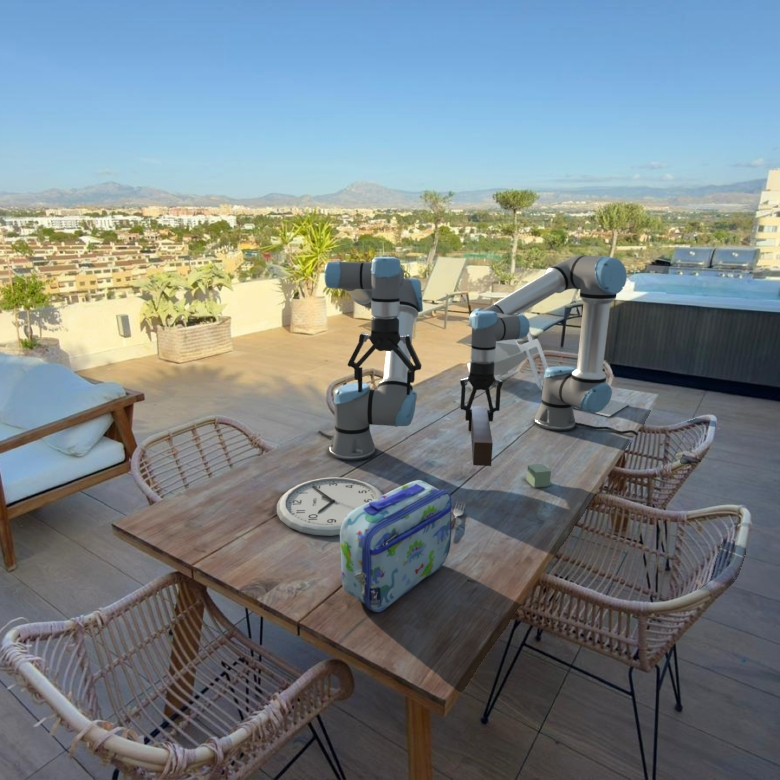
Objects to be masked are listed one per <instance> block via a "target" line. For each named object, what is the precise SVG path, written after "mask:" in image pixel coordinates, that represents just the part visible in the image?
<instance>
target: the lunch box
mask: <svg viewBox="0 0 780 780" xmlns="http://www.w3.org/2000/svg"><path fill="white" fill-rule="evenodd" d="M383 494H384V495H382V496H380V497H378V498H376V499H374V500H372V501H370V502H368V503H366V504H364V505H362V506H360V507H358V508H356V509H354V510H353V511H351V512H350V513H349V514H348V515H347V516H346V518H345V519H344V521H343V523H342V526H341V530H340V535H339V551H340V574H341V576H340V577H341V585H342V588H343V589H342V590H343V591H344V593H346V594H348V595H350V596H352V597H353V598H355V599H357V600H358V601H359V602H361V603H362V604H364V605H365V606H366V608H367V609H369V610H370V611H371V612H374V613H381V612H384V611H385V610H386V609H387V608H389V607H390V606H391V605H392V604H393V603H395V602H396V601H397V600H399V599H400V598H401V597H402V596H404V595H405V594H407V593H408V592H410V591H411V590H412V589H413V588H415V587H416V586H417V585H418V584H419V583H420V582H421V581H423V580H425V579H426V578H427V577H429V576H430V575H432V574H434V573H435V572H436V571H438V570H439V569H440V568H441V567H442V566H443V565H444V563H445V562H446V560H447V558H448V556H449V553H450V550H451V549H450V548H451V545H452V543H451V542H452V530H451V522H452V497H451V494H450V492H449V491H448V490H446V489H438V488H437V487H435V486H434V485H431V484H429V483H427V482H426V481H424V480H421V479H416V480H413V481H410V482H408V483H405V484H403V485H401V486H399V487H397V488H394V489H393V490H390V491H388V492H387V493H383Z"/></svg>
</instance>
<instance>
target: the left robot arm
mask: <svg viewBox="0 0 780 780" xmlns="http://www.w3.org/2000/svg"><path fill="white" fill-rule="evenodd" d="M323 276H324V277H323V278H324V283H325V287H327V288H328V289H335V290H337V289H338V290H339V289H340V290H342V291H344V292H346V293H347V294H348V295H350V298H351V299H352V300H353V302H355V303H356V304H358V305H360V306H361V307H365V308H367V309H370V312H371V313H370V315H371V316H372V317H371V319H370V334H368V333H365V332H361V333H360V334H359V337H358V343H357V345H356V347H355V348H354V350H353V353H352V354H351V356H350V358H349V360H348V362H347V366H348V367H349V368H353V370H354V371H353V374H354V376H353V377H354V380H355V381H357V382H351V383H347V384H343V385H341V386H339V387H337V388H336V389H335V392H334V396H333V397H334V399H333V408H334V409H333V410H334V415H333V416H334V432H333V434H332V435H331V434H327V433H324V432H322V431H321V430H318V433H319V434H320V435H322V436H324V437H327V438H330V444H329V454H330V455H331V457H333V458H335V459H338V460H341V461H351V462H353V461H362V460H365V459H368V458H370V457H372V456H374V454H375V452H376V447H375V443H374V439H373V436H372V433H371V429H370V425H371V426H386V427H387V426H388V427H389V426H390V427H396V428H397V427H408V426H410V425H411V424H412V421H413V419H414V415H415V411H416V406H417V405H416V403H417V399H418V398H417V396H418V393H417V391H415V390H414V387H413V386H414V385H412V384H413V383H414V382H415V380H416V379H415V378H416V371H420V370H421V369H422V363H421V361H420V358H419V357H418V354H417V353H416V350H415V348H414V346H413V331H414V321H415V320H416V319H417V318H418V317H419V313H421V312H423V310H424V308H423V307H424V305H423V304H424V303H423V291H422V282H421V280H420V279H418V278H415V277H414V278H413V277H408V276H407V277H405V271H404V268H403V267H402V266H401V260H400V258H398V257H396V256H395V257H394V256H377V257H373V259H372V260H371V261H339V260H337V261H328V262H327V263H326V264H325V266H324V275H323ZM368 340H369V341H370V343H371V344H372V345H371V346H370V347H369V349H368V350H367V351H366V352H364V354H363V355H362V356H361V357H360V358H359V360H358V361H357V362H355V361H356V359H357V357H358V355H359V353H360V352H361V349H362V348H363V346H364V344H365V343H366V342H367V341H368ZM376 350H377V351H378V352H385V354H384V355H385V357H384V368H383V376H382V377H383V378H382V380H380V381H379V382H378V384H377V389H373V388H371V386H370V384H369V383H366V382H363V367H361V366H362V365H363V364H364V363H365V361H366V360H367V359H368V358H369V357H370V356H371V355H372V353H374V351H376ZM411 360H412V361H413V363H412V361H411Z"/></svg>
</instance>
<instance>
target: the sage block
mask: <svg viewBox="0 0 780 780" xmlns="http://www.w3.org/2000/svg"><path fill="white" fill-rule="evenodd" d="M551 474H552V470H551V469H550V468H548V467H547V466H546V465H545V464H544V463H538V464H528V465H527V471H526V481H527V482H528V483H529V485H531V487H532V488H535V489H536V488H543V487H545V488H546V487H550V484H551V476H552V475H551Z"/></svg>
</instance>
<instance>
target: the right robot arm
mask: <svg viewBox="0 0 780 780" xmlns="http://www.w3.org/2000/svg"><path fill="white" fill-rule="evenodd" d="M627 278H628V276H627V269H626V266H625V265H624V263H623V262H622V261H621V260H620V259H619V258H617V257H611V256H606V255H605V256H603V255H587V254H580V255H575V256H571V257H569V258H567V259H564V260H562V261H559V262H558V263H556V264H554V265H553V266H550V267H548V269H546V270H545V272H544V274H543V275H541V276H539V277H538V278H536V279H534V280H532V281H531V282H529V283H527V284H526V285H524V286H522V287H521V288H519V289H517V290H515V291H513V292H512V293H510V294H509V295H506V296H505V297H503V298H502V299H500V300H498V301H497V302H495V303H493V304H491V305H489V306H487V307H486V308H483V307H481V308H480V307H478V308H475V309H473V310H472V311H471V313H470V315H469V318H468V321H469V325H470V327H471V342H470V343H471V347H470V362H469V363H470V373H469V374H468V376H467V377H466V378H460V379H459V383H460V386H461V392H460V405H459V406H460V410H462V411H465V417H464V418H465V421H467V422H468V425H467V427H468V432H471V419H472V410H471V406H473V402H474V400H475V396H476V394H477V391H481V390H482V391H485V394H486V400H487V405H488V409H487V411H488V418H489V423H492V422H493V421H494V413H496V412H500V410H501V409H500V408H501V406H500V405H501V393H502V392H501V391H502V387H503V385H504V382H503V380H502V379H498V378H496V377H495V375H494V365H495V363H494V362H493V361H494V360H495V349H496V341H497V342H499V341H503V340H513V339H516V340H519V339H523V338H527V335H528V333H529V330H531V329H530V328H531V325H530V321H529V319H528V318H527V316H524V315H525V314H524V315H520V314H521V313H522V312H523V313H525V312H526V311H527V310H529V309H531V308H532V307H534V306H536V305H538V304H539V303H541V302H543V301H545V300H546V299H547V298H550V296H553V295H554V294H561V293H564V292H565V291H567V290H568V291H569V290H579V298H580V299H581V300H582V302H583V306H582V313H581V314H582V315H581V326H580V333H579V345H578V352H577V353H578V354H577V363H576V367H574V366H566V365H565V366H564V365H559V366H558V365H557V366H550V367H549V366H548V367H549V368H547V369H546V370H545V369H544V375H543V381H542V392H541V402H540V405H539V407H538V410H537V411H536V413H535V415H534V424H535V425H536V426H537V427H539V428H542V429H544V430H549V431H556V432H567V431H572V430H574V429H575V428H576V426H579V427H583V428H588V429H592V430H609V431H611V432H614V433H616V434H620V435H621V434H622V435H623V434H634V435H635V436H639V433H638V432H637V431H635V430H633V429H628V430H618V429H615V428H612V427H610V426H594V425H590V424H586V423H581V422H577V421H576V418H575V417H576V416H575V413H574V407H576V408H578V409H577V410H580V409H581V411H582V412H587V413H590V414H596V413H597V412H599V411H601V410H602V409H604V408H605V406H607V404H608V403H609V401H611V399H612V394H613V390H612V389H613V388H612V387H611V385H610V384H609V383H607V374H606V373H605V372H604V369H603V368H604V359H605V352H606V345H607V336H608V326H609V320H610V311H611V303H612V302H613V301H615V300H616V299H617V294H619V293H620V292H622V291H623V289H624V287H625V285H626V283H627ZM468 382H469V384H470V385H471V386H472V387H471V391H470V394H469V397H468V400H467V403H466V389H467V388H466V386H467V385H468ZM493 384H494V385H495V404H493V400H492V396H491V391H490V388H491V386H492V385H493ZM465 403H466V405H465ZM576 408H575V409H576Z"/></svg>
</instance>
